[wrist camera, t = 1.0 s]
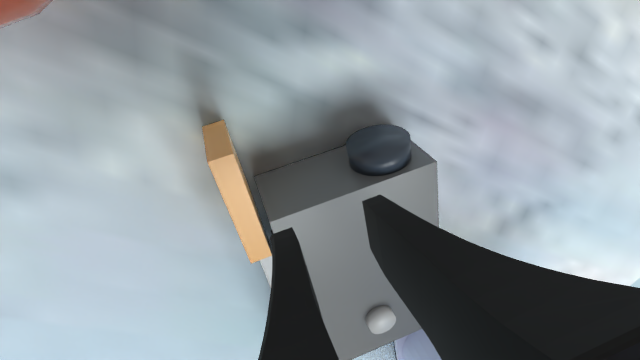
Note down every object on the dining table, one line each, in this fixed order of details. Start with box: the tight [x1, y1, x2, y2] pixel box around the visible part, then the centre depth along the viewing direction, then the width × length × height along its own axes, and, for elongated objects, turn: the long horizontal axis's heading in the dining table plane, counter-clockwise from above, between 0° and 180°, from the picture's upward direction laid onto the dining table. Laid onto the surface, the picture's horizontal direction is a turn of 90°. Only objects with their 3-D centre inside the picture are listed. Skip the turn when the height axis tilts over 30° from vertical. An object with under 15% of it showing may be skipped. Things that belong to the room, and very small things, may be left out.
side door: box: [202, 120, 272, 287], centre depth 20 cm, size 15×1×4 cm, turn 12°
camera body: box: [254, 125, 439, 360], centre depth 21 cm, size 13×8×5 cm, turn 12°
